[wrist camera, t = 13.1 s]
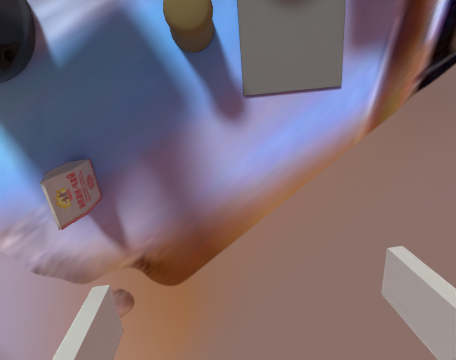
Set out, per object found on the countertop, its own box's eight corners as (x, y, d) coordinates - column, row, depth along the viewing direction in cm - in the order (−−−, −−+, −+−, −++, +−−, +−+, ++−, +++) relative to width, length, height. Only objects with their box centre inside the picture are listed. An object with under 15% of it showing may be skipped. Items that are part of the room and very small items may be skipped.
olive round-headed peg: (220, 41, 38) (227, 24, 27) (182, 59, 38) (173, 49, 28) (202, -5, 36) (202, -43, 25) (162, 14, 36) (144, -15, 26)
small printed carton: (79, 201, 44) (45, 232, 34) (66, 162, 41) (25, 184, 32) (102, 197, 44) (74, 228, 34) (89, 158, 41) (56, 179, 32)
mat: (243, 95, 40) (244, 95, 40) (235, -23, 35) (235, -24, 35) (340, 85, 41) (341, 85, 40) (345, -32, 36) (347, -33, 35)
